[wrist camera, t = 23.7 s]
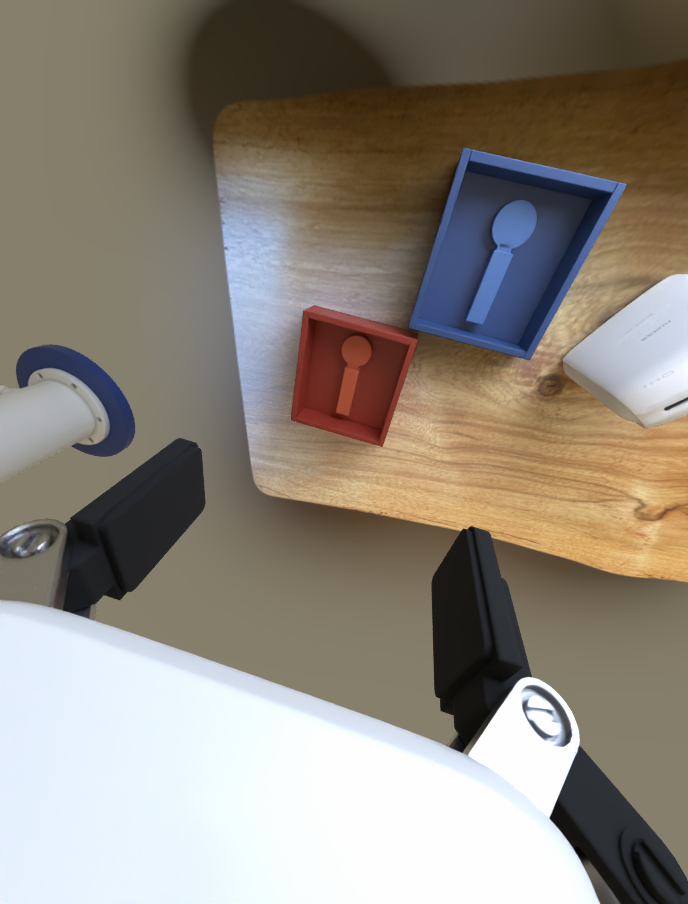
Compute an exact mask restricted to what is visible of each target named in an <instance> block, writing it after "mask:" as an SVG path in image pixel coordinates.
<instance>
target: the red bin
mask: <svg viewBox="0 0 688 904" xmlns="http://www.w3.org/2000/svg"><path fill="white" fill-rule="evenodd" d="M353 334H363V335H365V336H366V337H368V338H369V340H370V341H371V343H372V346H373V352H372V355H371V358H370V359H369V361H368V362H367V363H366V364H364V365H362V366H360V367H361V370H360V375H359V379H358V383H357V387H356V391H355V396H354V400H353V404H352V408H351V412H350V414H349V416H346V415H343V414H339V413H336V408H337V403H338V399H339V394H340V389H341V384H342V379H343V374H344V370H345V367H346V365H347V364H348V363H347V362H346V361H345V360H344V358H343V356H342V345H343V343H344V341H345V340H346V339H347V338H348V337H349V336H351V335H353ZM417 341H418V333H417V332H413V331H409V330H405V329H401V328H398V327H394V326H390V325H386V324H383V323H379V322H375V321H371V320H367V319H364V318H360V317H356V316H352V315H349V314H345V313H341V312H337V311H333V310H330V309H326V308H322V307H318V306H315V305H314V306H312V307H310V308H308V309H305V310H304V311H303V319H302V328H301V336H300V345H299V353H298V362H297V370H296V379H295V387H294V395H293V404H292V412H291V420H292V421H296V422H298V423H302V424H305V425H309V426H312V427H316V428H319V429H322V430H326V431H329V432H333V433H336V434H340V435H343V436H346V437H350V438H353V439H357V440H360V441H364V442H367V443H370V444H374V445H378V446H381V447H383V444H384V441H385V438H386V435H387V432H388V429H389V426H390V423H391V420H392V417H393V414H394V411H395V408H396V405H397V402H398V399H399V396H400V393H401V390H402V387H403V384H404V381H405V377H406V374H407V371H408V368H409V365H410V362H411V359H412V356H413V353H414V350H415V347H416V344H417Z"/></svg>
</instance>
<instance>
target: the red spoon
mask: <svg viewBox="0 0 688 904" xmlns="http://www.w3.org/2000/svg"><path fill="white" fill-rule="evenodd" d="M372 352H373V346H372V343H371V341H370V340H369V338H368V337H366V336H365V335H363V334H353V335H351V336H349V337H348V338H347V339H346V340H345V341H344V343H343V345H342V356H343V358H344V360H345V361H346V362H347V363H348V364H347V365H346V367H345V370H344V374H343V379H342V384H341V389H340V394H339V399H338V403H337V408H336V413H339V414H343V415H346V416H349V414H350V412H351V408H352V404H353V400H354V396H355V391H356V387H357V383H358V379H359V375H360V370H361V367H360V366H362V365H364V364H366V363H367V362H368V361H369V359H370V358H371V355H372Z"/></svg>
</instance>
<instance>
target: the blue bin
mask: <svg viewBox="0 0 688 904" xmlns="http://www.w3.org/2000/svg"><path fill="white" fill-rule="evenodd" d="M626 185H627V184H624V183H620V182H615V181H611V180H606V179H602V178H597V177H593V176H588V175H584V174H579V173H575V172H570V171H566V170H561V169H557V168H552V167H548V166H543V165H539V164H534V163H530V162H525V161H521V160H516V159H512V158H507V157H503V156H498V155H494V154H490V153H485V152H481V151H476V150H472V151H471V149H467V148H463V151H462V153H461V156H460V158H459V161H458V164H457V168H456V171H455V174H454V177H453V181H452V184H451V187H450V190H449V194H448V197H447V200H446V204H445V207H444V210H443V213H442V217H441V220H440V223H439V226H438V230H437V233H436V236H435V239H434V243H433V246H432V249H431V253H430V256H429V259H428V262H427V266H426V269H425V272H424V275H423V279H422V282H421V285H420V288H419V292H418V295H417V298H416V302H415V305H414V308H413V311H412V315H411V318H410V321H409V326H408V328H409V329H413V330H414V329H415V330H417V331H421V332H424V333H428V334H432V335H436V336H440V337H443V338H447V339H451V340H455V341H458V342H462V343H466V344H470V345H474V346H477V347H481V348H485V349H489V350H492V351H496V352H500V353H504V354H508V355H511V356H515V357H519V358H523V359H526V360H530V359H531V357H532V355H533V353H534V351H535V349H536V348H537V346H538V344H539V342H540V340H541V339H542V337H543V335H544V333H545V331H546V330H547V328H548V326H549V324H550V322H551V321H552V319H553V317H554V315H555V313H556V312H557V310H558V308H559V306H560V304H561V303H562V301H563V299H564V297H565V295H566V294H567V292H568V290H569V288H570V286H571V285H572V283H573V281H574V279H575V277H576V275H577V274H578V272H579V270H580V268H581V266H582V265H583V263H584V261H585V259H586V257H587V256H588V254H589V252H590V250H591V248H592V247H593V245H594V243H595V241H596V239H597V238H598V236H599V234H600V232H601V230H602V229H603V227H604V225H605V223H606V221H607V220H608V218H609V216H610V214H611V212H612V210H613V209H614V207H615V205H616V203H617V201H618V200H619V198H620V196H621V194H622V192H623V191H624V189H625V187H626ZM515 200H526V201H528V202H530V203H531V204H532V205H533V206H534V208H535V210H536V215H537V221H536V226H535V229H534V231H533V233H532V235H531V236H530V237H529V239H528V240H527V241H526V242H525V243H524V244H522V245H521V246H519V247H517V248H515V249H512V250H511V252H510V254H513V257H512V259H511V261H510V263H509V266H508V268H507V270H506V273H505V275H504V277H503V279H502V282H501V284H500V286H499V289H498V291H497V293H496V296H495V298H494V300H493V302H492V305H491V307H490V309H489V312H488V314H487V316H486V319H485V321H484V323H483V325H480V324H476V323H472V322H468V321H466V320H465V319H464V317H465V315H466V312H467V310H468V307H469V305H470V302H471V300H472V297H473V295H474V292H475V290H476V287H477V285H478V282H479V280H480V277H481V275H482V272H483V270H484V267H485V265H486V262H487V260H488V257H489V255H490V252H491V250H494V248H495V245H494V244H493V242H492V240H491V237H490V227H491V223H492V221H493V218H494V217H495V215H496V214H497V212H498V211H499V210H500V209H501V208H502V207H504V206H505V205H507V204H508V203H510V202H512V201H515Z"/></svg>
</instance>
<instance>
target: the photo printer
mask: <svg viewBox="0 0 688 904" xmlns="http://www.w3.org/2000/svg"><path fill="white" fill-rule="evenodd" d="M562 361H563V369H564V372H565V374H566V375H567V376H568V377H569V378H570V379H572V380H573V381H574V382H576V383H577V384H578V385H579V386H581V387H582V388H583V389H585V390H586V391H587V392H589V393H590V394H591V395H592V396H594V397H595V398H596V399H598V400H599V401H600V402H602V403H603V404H604V405H606V406H607V407H608V408H609V409H611V410H612V411H613V412H615V413H616V414H617V415H619V416H620V417H622V418H624V419H626V420H629V421H632V422H636V423H637V424H638V425H640V426H641V427H643V428H646V429H648V428H651V427H655V426H659V425H662V424H665V423H668V422H671V421H674V420H677V419H679V418H682V417H684V416H687V415H688V275H672V276H670V277H668V278H666V279H664V280H662V281H661V282H659V283H658V284H656V285H654V286H653V287H652V288H650V289H649V290H647V291H646V292H645V293H643V294H642V295H641V296H639V297H638V298H637V299H635V300H634V301H633V302H631V303H630V304H629V305H627V306H626V307H625V308H623V309H622V310H621V311H619V312H618V313H617V314H615V315H614V316H613V317H612V318H610V319H609V320H608V321H607V322H605V323H604V324H603V325H601V326H600V327H599V328H598V329H596V330H595V331H594V332H593V333H591V334H590V335H589V336H588V337H586V338H585V339H584V340H583V341H581V342H580V343H579V344H578V345H577V346H575V347H574V348H573V349H572V350H571V351H570V352H569V353H568V354H567V355H566V356H565V357H564V358H563V359H562Z"/></svg>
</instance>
